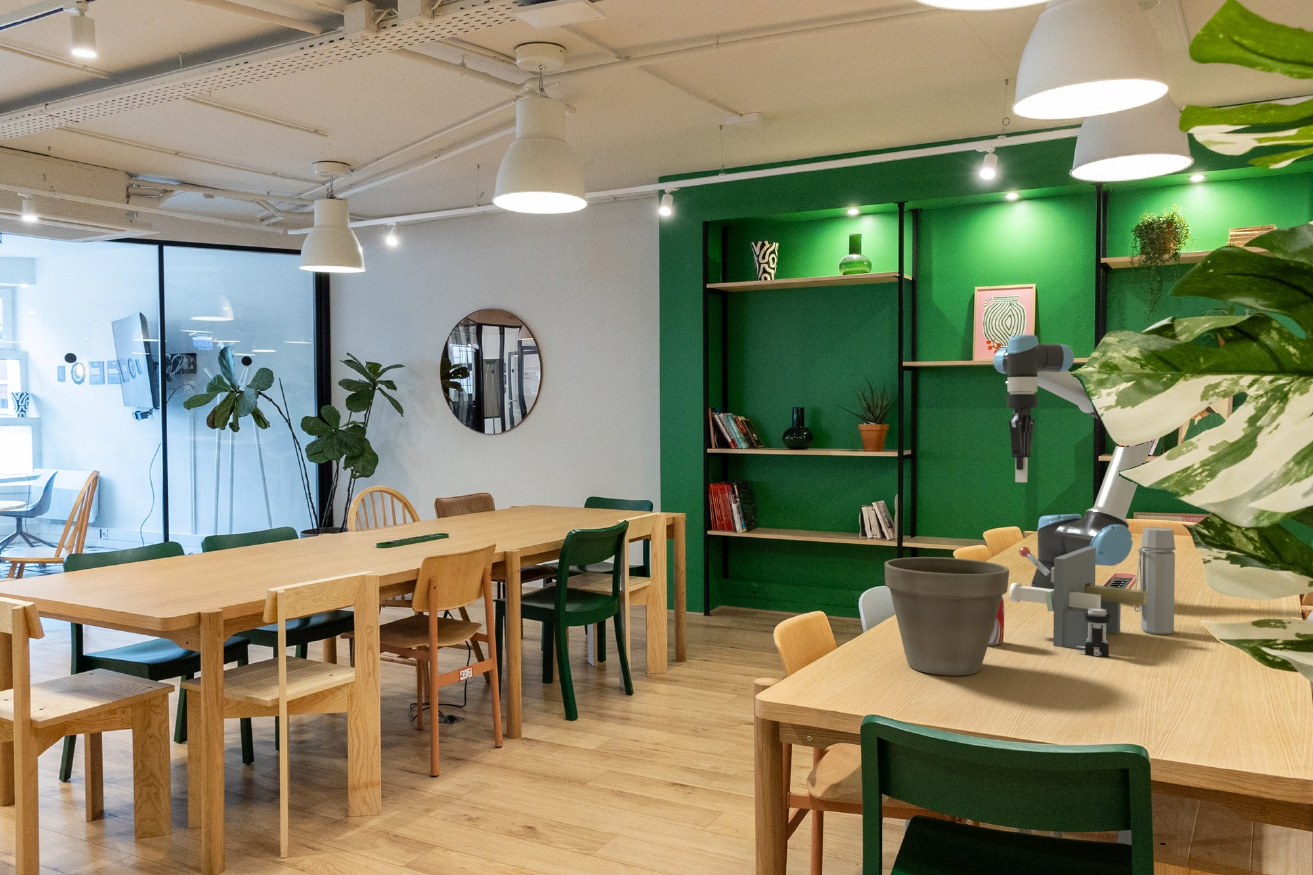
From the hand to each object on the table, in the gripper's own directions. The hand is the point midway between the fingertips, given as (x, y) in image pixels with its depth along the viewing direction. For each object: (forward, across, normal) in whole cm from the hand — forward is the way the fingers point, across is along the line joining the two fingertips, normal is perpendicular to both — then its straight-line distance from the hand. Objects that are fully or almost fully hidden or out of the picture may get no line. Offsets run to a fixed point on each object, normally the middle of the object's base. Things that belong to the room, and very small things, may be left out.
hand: (1021, 481), depth 261 cm
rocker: (+27, +32, +19) cm, 46 cm away
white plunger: (+27, +28, +18) cm, 43 cm away
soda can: (+35, +41, +8) cm, 54 cm away
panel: (+34, +22, +24) cm, 47 cm away
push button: (+35, +37, +30) cm, 59 cm away
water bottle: (+35, +5, +34) cm, 49 cm away
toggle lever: (+19, +32, +15) cm, 40 cm away
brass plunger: (+27, +16, +25) cm, 40 cm away
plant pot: (+35, +68, +9) cm, 76 cm away
